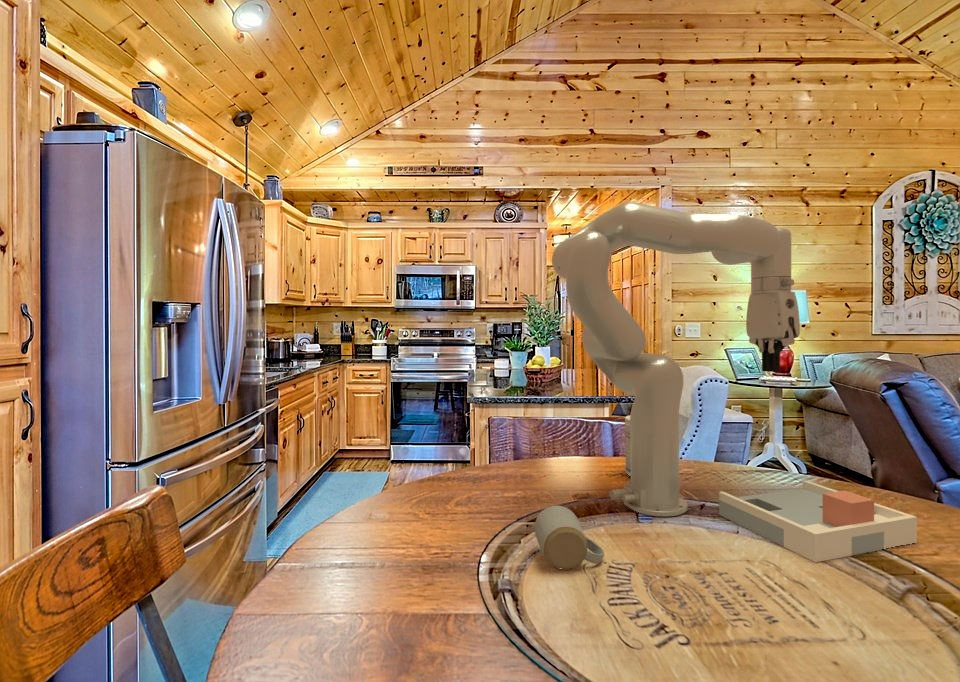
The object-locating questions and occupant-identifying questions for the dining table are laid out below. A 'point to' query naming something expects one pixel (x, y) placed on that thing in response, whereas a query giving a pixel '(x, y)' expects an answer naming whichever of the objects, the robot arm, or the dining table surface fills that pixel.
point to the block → (846, 508)
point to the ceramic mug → (564, 539)
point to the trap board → (816, 523)
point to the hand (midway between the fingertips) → (770, 371)
